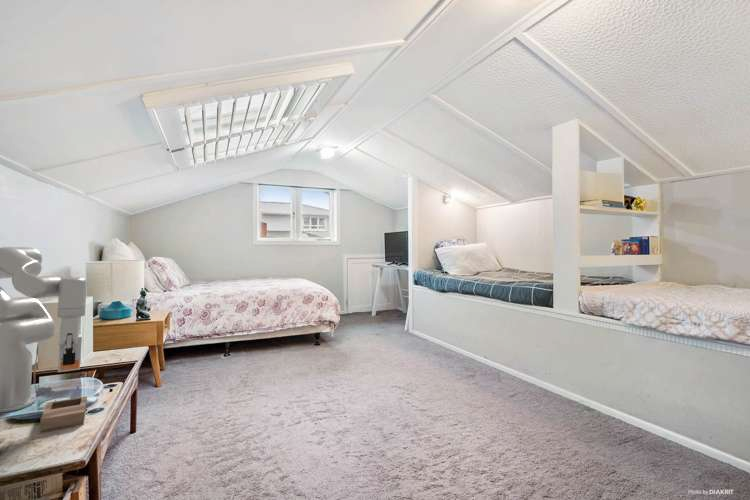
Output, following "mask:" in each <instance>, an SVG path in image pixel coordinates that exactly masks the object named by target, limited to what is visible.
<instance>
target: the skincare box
mask: <svg viewBox="0 0 750 500" xmlns="http://www.w3.org/2000/svg"><path fill="white" fill-rule="evenodd" d="M82 340H83V335H82V334H79V337H78V342H77V344H76V345H75V350H74V353H75V364H72V365H63V354H64V345H65V343H64V345H62V346H59V350H58V366H57V373H62V372H63V373H65V372H70V371H71V372H72V371H79V370H80V369H81V356H82V344H83V343H82V342H83V341H82ZM73 342H74V341H73ZM71 344H73V343H71ZM66 345H67V343H66ZM71 347H72V348H73V346H71Z"/></svg>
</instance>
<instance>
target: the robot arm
mask: <svg viewBox="0 0 750 500" xmlns="http://www.w3.org/2000/svg"><path fill="white" fill-rule="evenodd" d="M42 262H43V255H42V254H41V252H40V251H39V250H38V249H36V248H35V247H34V248H33V247H30V246H29V247H25V246H24V247H22V246H21V247H20V246H18V247H17V246H6V247H5V246H4V247H3V246H1V247H0V280H1V279H11V282H12V286H13V289H14V290H16V291H17V292H18V293H20V294H22V295H23V296H20V297H11V296H10V295H8V294H7V292H6V290H5V289H4V288H3V287H2V286H0V413H6V412H7V413H8V412H13V411H17V410H20V409H24V408H27V407H30V406H31V405H33V404H34V403H36V401H37V397H36V396H35V395H33V394H31V392H32V390H31V389H32V376H33V375H32V374H33V373H32V372H33V354H32V352H31V351H30V350H29V349H28V348H27V347H26V346H27V345H30V344H31V345H32V344H34V343H39V342H44V341H47V340H49V339H52V338H53V337H54V336H55V335H56V332H57V324H56V323H55V320H54V319H53V318H52V316H51V315H50V313H49V312H48V311H47V309H46V307H45V306H44V305H43V303H42V302H41V301H40V300H39V299H43V298H52V297H58V298H57V299H58V300H57V318H61V319H60V326H59V327H60V328H59V340H58V347H60V346H62V345H64V343H65V345H64V354H63V365H72V364H75V353H74V350H75V345H76V344H77V342H78V337H79V335H80V331H81V320H82V319H81V318H82V317H85V315H86V308H87V307H86V303H87V301H86V300H87V285H88V283H87V280H86V279H85V278H84V277H80V276H79V277H75V276H72V275H66V274H65V275H41V276H39V275H40V274H41V272H42V268H43V267H42ZM73 341H74V342H73ZM66 343H67V345H66ZM71 343H73V344H71ZM71 346H73V348H72V347H71Z"/></svg>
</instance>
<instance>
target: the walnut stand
mask: <svg viewBox="0 0 750 500" xmlns="http://www.w3.org/2000/svg"><path fill="white" fill-rule="evenodd" d="M87 401H88V396H81V397H76V398H69V399H63V400H57V401H50V402H47V403H46V405H45V408H44V409H43V412H42V415H41V417H40V422H39V424H40V425H39V426H40V427H39V434H42V433H49V432H51V431H52V432H53V431H58V430H63V429H67V428H74V427H79V426H84V424H85V420H86V419H85V418H86V413H87V405H88V402H87Z"/></svg>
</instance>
